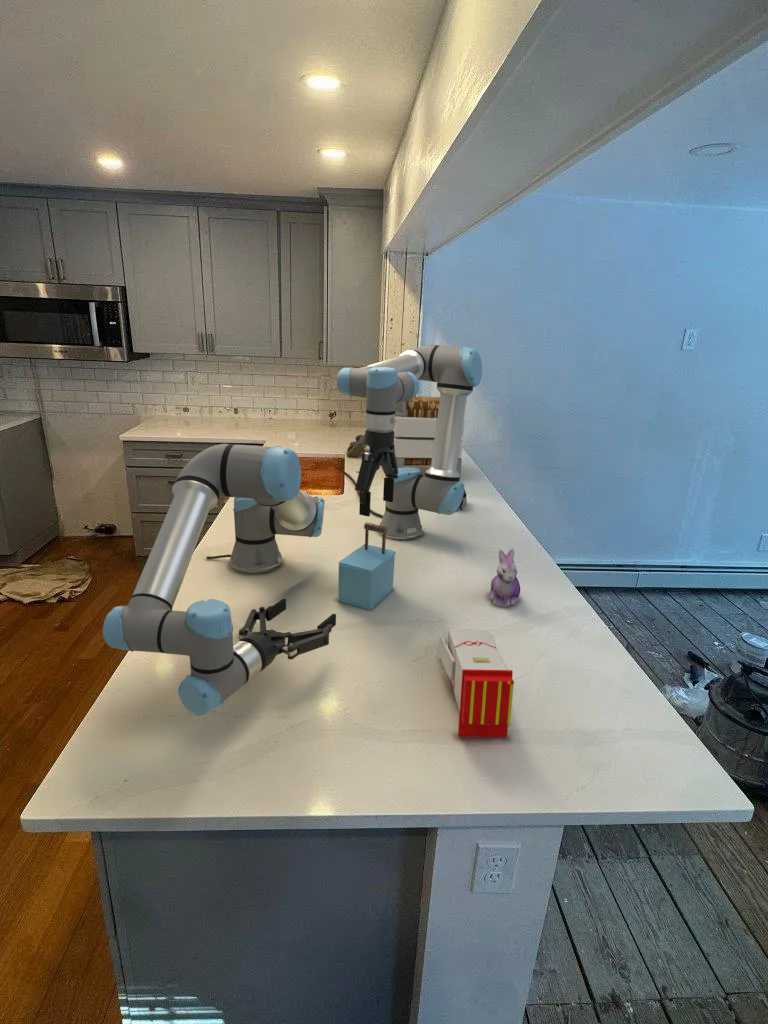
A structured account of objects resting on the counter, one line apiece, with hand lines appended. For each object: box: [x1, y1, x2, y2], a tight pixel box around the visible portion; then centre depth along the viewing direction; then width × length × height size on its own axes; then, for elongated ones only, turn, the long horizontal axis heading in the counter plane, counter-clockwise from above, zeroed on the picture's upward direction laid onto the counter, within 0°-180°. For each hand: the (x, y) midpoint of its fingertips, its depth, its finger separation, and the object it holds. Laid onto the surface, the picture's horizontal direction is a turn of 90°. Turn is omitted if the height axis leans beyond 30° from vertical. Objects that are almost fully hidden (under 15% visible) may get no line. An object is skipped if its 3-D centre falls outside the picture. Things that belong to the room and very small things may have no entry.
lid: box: [338, 521, 396, 573], centre depth 152 cm, size 14×10×9 cm
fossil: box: [346, 434, 369, 458], centre depth 305 cm, size 22×10×15 cm
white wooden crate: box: [393, 395, 465, 481], centre depth 268 cm, size 34×33×41 cm
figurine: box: [489, 547, 521, 608], centre depth 154 cm, size 9×10×15 cm
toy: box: [437, 628, 515, 738], centre depth 117 cm, size 12×13×30 cm
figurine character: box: [458, 488, 468, 511], centre depth 230 cm, size 7×8×15 cm
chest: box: [337, 554, 396, 611], centre depth 155 cm, size 14×10×11 cm
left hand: (309, 611), depth 130 cm, fingers open, 13 cm apart
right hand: (376, 508), depth 152 cm, fingers open, 13 cm apart
